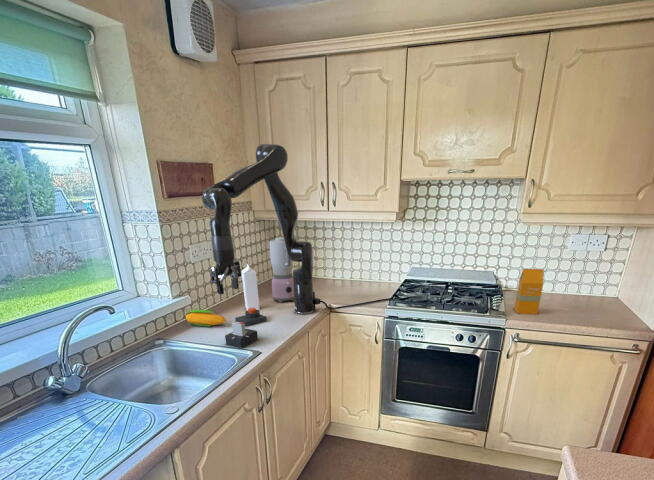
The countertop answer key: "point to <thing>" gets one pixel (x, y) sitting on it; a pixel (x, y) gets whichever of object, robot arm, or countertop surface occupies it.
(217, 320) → the corn
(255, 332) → the fryer panel
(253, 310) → the power button
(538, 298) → the orange juice
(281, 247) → the blender
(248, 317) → the button block
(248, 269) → the milk
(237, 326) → the timer knob
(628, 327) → the countertop surface
